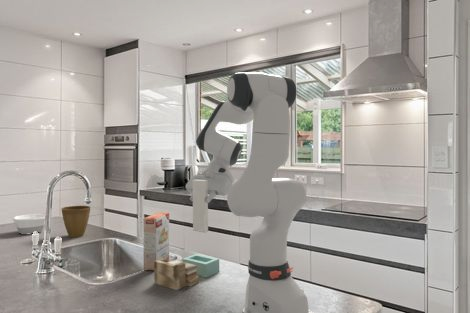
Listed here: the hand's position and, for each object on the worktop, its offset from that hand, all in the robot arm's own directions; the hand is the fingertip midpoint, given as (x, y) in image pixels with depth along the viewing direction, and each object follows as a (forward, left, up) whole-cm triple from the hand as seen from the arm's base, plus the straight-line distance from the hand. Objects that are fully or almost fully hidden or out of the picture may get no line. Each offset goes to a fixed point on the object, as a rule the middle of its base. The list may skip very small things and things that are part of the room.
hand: (199, 201), depth 143 cm
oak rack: (-5, +14, -28) cm, 32 cm away
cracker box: (+18, +10, -28) cm, 35 cm away
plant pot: (+93, +27, -28) cm, 101 cm away
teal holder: (0, -1, -28) cm, 28 cm away
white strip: (0, -1, -12) cm, 12 cm away
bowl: (+119, +47, -28) cm, 131 cm away
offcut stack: (-4, +10, -28) cm, 30 cm away
